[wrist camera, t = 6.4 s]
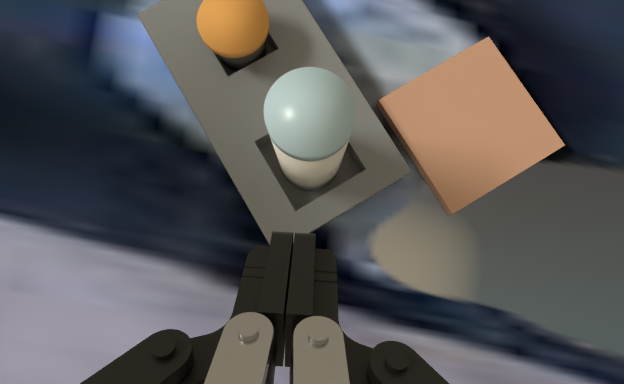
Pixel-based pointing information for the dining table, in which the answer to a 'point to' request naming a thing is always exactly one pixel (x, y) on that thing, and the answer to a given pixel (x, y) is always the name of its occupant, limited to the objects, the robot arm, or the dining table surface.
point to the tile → (469, 125)
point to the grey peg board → (250, 117)
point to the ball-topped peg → (310, 125)
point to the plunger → (234, 30)
